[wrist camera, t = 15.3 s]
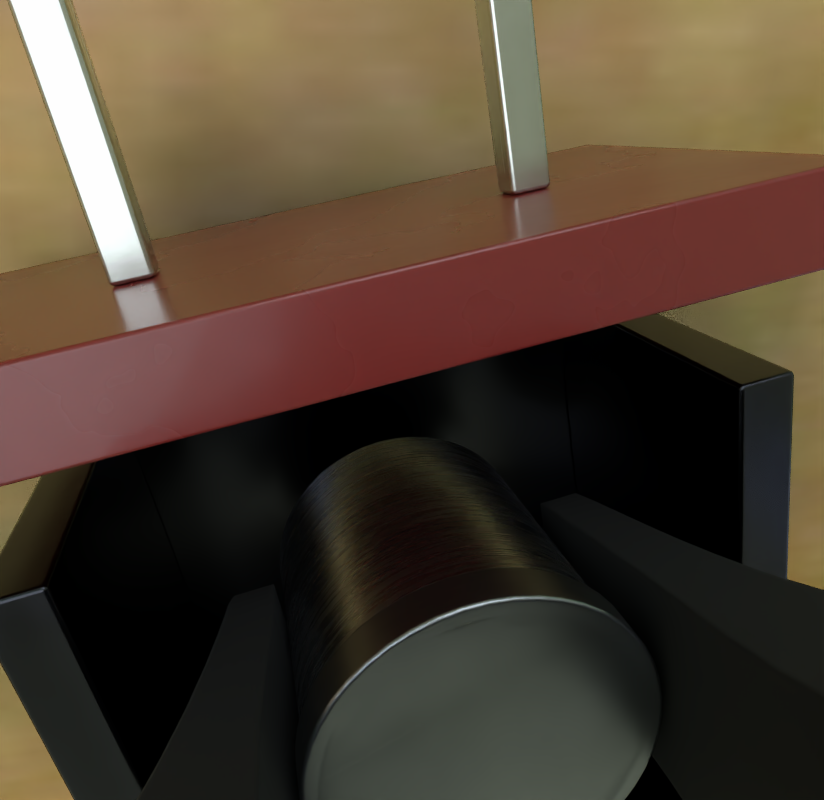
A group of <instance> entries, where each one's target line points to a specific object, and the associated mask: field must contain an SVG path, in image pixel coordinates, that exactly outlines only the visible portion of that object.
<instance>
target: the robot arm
mask: <svg viewBox="0 0 824 800" xmlns="http://www.w3.org/2000/svg"><path fill="white" fill-rule="evenodd" d="M540 506H541V514H542V521H543V529H544V532H545V533H546V534H547V535H548V537H549V538H550V539H551V541H552V542H553V543H554V544H555V546H556V547H557V548H558V549H559V551H560V552H561V553H562V554H563V556H564V557H565V558H566V559H567V561H568V562H569V563H570V564H571V566H572V567H573V568H574V570H575V571H576V572H577V573H578V575H579V576H580V577H581V578H582V580H583V581H584V582H585V583H586V585H587V586H588V587H590V588H591V589H593V590H595V591H596V592H598V593H600V594H601V595H602V596H603V597H604V598H605V599H606V600H608V601H609V602H610V603H611V604H612V605H613V606H614V607H615V608H616V609H617V611H618V612H619V613H620V614H621V616H622V617H623V618H624V619H625V621H626V622H627V623H628V624H629V625H630V627H631V628H632V629H633V630H634V632H635V633H636V634H637V635H638V637H639V638H640V639H641V640H642V642H643V643H644V644H645V645H646V647H647V649H648V651H649V653H650V654H651V656H652V658H653V660H654V662H655V666H656V669H657V672H658V675H659V678H660V684H661V692H662V717H661V723H660V729H659V734H658V737H657V740H656V743H655V747H654V750H653V752H652V757H653V758H654V759H655V761H656V762H657V763H658V765H659V766H660V768H661V769H662V770H663V772H664V773H665V774H666V776H667V777H668V779H669V780H670V782H671V783H672V785H673V786H674V788H675V789H676V791H677V792H678V794H679V795H680V797H681V798H682V800H824V590H822V589H818V588H815V587H811V586H808V585H805V584H801V583H798V582H795V581H791V580H788V579H784V578H781V577H778V576H775V575H772V574H769V573H766V572H763V571H760V570H757V569H754V568H752V567H749V566H746V565H744V564H741V563H738V562H735V561H733V560H730V559H727V558H725V557H722V556H719V555H717V554H714V553H712V552H709V551H707V550H704V549H702V548H699V547H697V546H694V545H692V544H689V543H687V542H685V541H682V540H680V539H678V538H675V537H673V536H671V535H668V534H666V533H664V532H661V531H659V530H657V529H655V528H653V527H650V526H648V525H646V524H644V523H641V522H639V521H637V520H635V519H633V518H631V517H628V516H626V515H624V514H622V513H620V512H618V511H615V510H613V509H611V508H609V507H607V506H605V505H602V504H600V503H598V502H596V501H594V500H591V499H589V498H587V497H584V496H582V495H579V494H577V493H574V494H571V495H567V496H564V497H561V498H557V499H554V500H551V501H547V502H544V503H541V504H540ZM298 722H299V715H298V707H297V699H296V691H295V683H294V675H293V667H292V659H291V651H290V643H289V635H288V627H287V623H286V620H285V617H284V614H283V611H282V608H281V605H280V602H279V598H278V595H277V592H276V589H275V586H274V584H272V585H269V586H265V587H262V588H259V589H255V590H252V591H249V592H245V593H242V594H239V595H235V596H233V598H232V599H231V601H230V603H229V604H228V607H227V610H226V613H225V616H224V618H223V621H222V624H221V627H220V629H219V632H218V635H217V637H216V640H215V642H214V645H213V647H212V650H211V652H210V655H209V657H208V660H207V662H206V664H205V667H204V669H203V671H202V674H201V676H200V678H199V680H198V682H197V685H196V687H195V689H194V691H193V694H192V696H191V698H190V700H189V703H188V705H187V707H186V709H185V711H184V713H183V715H182V717H181V719H180V721H179V723H178V725H177V727H176V729H175V731H174V733H173V734H172V736H171V738H170V740H169V742H168V744H167V746H166V748H165V750H164V752H163V754H162V756H161V758H160V760H159V762H158V763H157V765H156V767H155V769H154V771H153V772H152V774H151V776H150V778H149V779H148V781H147V783H146V785H145V786H144V788H143V790H142V791H141V793H140V795H139V796H138V798H137V800H300V798H299V789H298V780H297V771H296V758H295V742H296V732H297V726H298Z"/></svg>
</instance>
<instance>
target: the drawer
mask: <svg viewBox="0 0 824 800" xmlns="http://www.w3.org/2000/svg"><path fill="white" fill-rule="evenodd" d="M7 1H8V4H9V7H10V10H11V13H12V15H13V18H14V21H15V24H16V26H17V29H18V32H19V35H20V38H21V40H22V43H23V46H24V49H25V51H26V54H27V57H28V60H29V63H30V65H31V68H32V71H33V74H34V77H35V79H36V82H37V85H38V88H39V90H40V93H41V96H42V99H43V102H44V104H45V107H46V110H47V113H48V115H49V118H50V121H51V124H52V127H53V129H54V132H55V135H56V138H57V141H58V143H59V146H60V149H61V152H62V154H63V157H64V160H65V163H66V166H67V168H68V171H69V174H70V177H71V180H72V182H73V185H74V188H75V191H76V193H77V196H78V199H79V202H80V205H81V207H82V210H83V213H84V216H85V218H86V221H87V224H88V227H89V230H90V232H91V235H92V238H93V241H94V244H95V246H96V249H97V253H92V254H88V255H83V256H79V257H74V258H70V259H65V260H61V261H56V262H52V263H47V264H42V265H38V266H33V267H29V268H24V269H20V270H15V271H11V272H6V273H1V274H0V487H1V486H4V485H8V484H12V483H16V482H20V481H23V480H27V479H31V478H35V477H39V476H41V478H40V480H39V482H38V484H37V485H36V487H35V489H34V491H33V493H32V495H31V497H30V499H29V501H28V502H27V504H26V506H25V508H24V510H23V512H22V514H21V516H20V517H19V519H18V521H17V523H16V525H15V527H14V529H13V531H12V532H11V534H10V536H9V538H8V540H7V542H6V544H5V546H4V547H3V549H2V551H1V553H0V663H1V665H2V667H3V669H4V671H5V672H6V674H7V676H8V678H9V680H10V682H11V684H12V685H13V687H14V689H15V691H16V693H17V695H18V697H19V698H20V700H21V702H22V704H23V706H24V708H25V710H26V711H27V713H28V715H29V717H30V719H31V721H32V723H33V724H34V726H35V728H36V730H37V732H38V734H39V736H40V737H41V739H42V741H43V743H44V745H45V747H46V749H47V750H48V752H49V754H50V756H51V758H52V760H53V762H54V763H55V765H56V767H57V769H58V771H59V773H60V775H61V777H62V778H63V780H64V782H65V784H66V786H67V788H68V790H69V791H70V793H71V795H72V797H73V799H74V800H137V798H138V796H139V795H140V793H141V791H142V790H143V788H144V786H145V785H146V783H147V781H148V779H149V778H150V776H151V774H152V772H153V771H154V769H155V767H156V765H157V763H158V762H159V760H160V758H161V756H162V754H163V752H164V750H165V748H166V746H167V744H168V742H169V740H170V738H171V736H172V734H173V733H174V731H175V729H176V727H177V725H178V723H179V721H180V719H181V717H182V715H183V713H184V711H185V709H186V707H187V705H188V703H189V700H190V698H191V696H192V694H193V691H194V689H195V687H196V685H197V682H198V680H199V678H200V676H201V674H202V671H203V669H204V667H205V664H206V662H207V660H208V657H209V655H210V652H211V650H212V647H213V645H214V642H215V640H216V637H217V635H218V632H219V629H220V627H221V624H222V621H223V618H224V616H225V613H226V610H227V607H228V604H229V603H230V601H231V599H232V598H233V596H235V595H239V594H242V593H245V592H249V591H252V590H255V589H259V588H262V587H265V586H269V585H272V584H274V586H275V589H276V592H277V595H278V598H279V602H280V605H281V608H282V611H283V614H284V617H285V620H286V623H287V619H286V611H285V603H284V595H283V587H282V579H281V571H280V547H281V540H282V536H283V532H284V528H285V525H286V523H287V520H288V518H289V515H290V513H291V511H292V510H293V508H294V506H295V504H296V502H297V501H298V499H299V498H300V496H301V495H302V494H303V492H304V491H305V490H306V488H307V487H308V486H309V485H310V484H311V483H312V482H313V481H314V480H315V479H316V478H317V477H318V476H319V475H320V474H321V473H322V472H323V471H324V470H326V469H327V468H328V467H329V466H330V465H332V464H333V463H334V462H336V461H338V460H339V459H341V458H342V457H344V456H346V455H347V454H349V453H351V452H353V451H355V450H358V449H360V448H362V447H364V446H367V445H370V444H373V443H376V442H379V441H384V440H389V439H393V438H403V437H429V438H435V439H441V440H445V441H449V442H452V443H455V444H458V445H461V446H463V447H465V448H467V449H469V450H471V451H473V452H474V453H476V454H477V455H479V456H480V457H482V458H483V459H484V460H486V461H487V462H488V463H489V464H490V465H491V466H492V467H493V468H494V469H495V470H496V471H497V473H498V474H499V475H500V476H501V477H502V479H503V480H504V481H505V482H506V484H507V485H508V486H509V487H510V489H511V490H512V491H513V493H514V494H515V495H516V496H517V498H518V499H519V500H520V501H521V503H522V504H523V505H524V506H525V508H526V509H527V510H528V511H529V513H530V514H531V515H532V517H533V518H534V519H535V520H536V522H537V523H538V524H539V525H540V527H541V528H542V529H543V521H542V514H541V506H540V504H541V503H544V502H547V501H551V500H554V499H557V498H561V497H564V496H567V495H571V494H574V493H577V494H579V495H582V496H584V497H587V498H589V499H591V500H594V501H596V502H598V503H600V504H602V505H605V506H607V507H609V508H611V509H613V510H615V511H618V512H620V513H622V514H624V515H626V516H628V517H631V518H633V519H635V520H637V521H639V522H641V523H644V524H646V525H648V526H650V527H653V528H655V529H657V530H659V531H661V532H664V533H666V534H668V535H671V536H673V537H675V538H678V539H680V540H682V541H685V542H687V543H689V544H692V545H694V546H697V547H699V548H702V549H704V550H707V551H709V552H712V553H714V554H717V555H719V556H722V557H725V558H727V559H730V560H733V561H735V562H738V563H741V564H744V565H746V566H749V567H752V568H754V569H757V570H760V571H763V572H766V573H769V574H772V575H775V576H778V577H781V578H784V579H787V561H788V532H789V502H790V473H791V444H792V415H793V385H794V375H793V372H792V371H790V370H788V369H785V368H783V367H781V366H778V365H776V364H773V363H771V362H769V361H766V360H764V359H762V358H759V357H757V356H755V355H752V354H750V353H748V352H745V351H743V350H741V349H738V348H736V347H734V346H731V345H729V344H727V343H724V342H722V341H720V340H717V339H715V338H713V337H710V336H708V335H706V334H703V333H701V332H699V331H696V330H694V329H692V328H689V327H687V326H685V325H682V324H680V323H678V322H675V321H673V320H671V319H668V318H666V317H664V316H661V315H659V314H657V313H661V312H664V311H668V310H672V309H676V308H680V307H683V306H687V305H691V304H695V303H699V302H702V301H706V300H710V299H714V298H718V297H721V296H725V295H729V294H733V293H736V292H740V291H744V290H748V289H752V288H755V287H759V286H763V285H767V284H771V283H774V282H778V281H782V280H786V279H790V278H793V277H797V276H801V275H805V274H809V273H812V272H816V271H820V270H824V155H818V154H794V153H771V152H748V151H724V150H701V149H677V148H654V147H630V146H607V145H584V146H579V147H575V148H570V149H566V150H561V151H557V152H552V153H548V154H547V149H546V139H545V129H544V119H543V109H542V99H541V89H540V79H539V70H538V60H537V50H536V40H535V30H534V20H533V10H532V0H475V8H476V16H477V24H478V31H479V39H480V47H481V55H482V62H483V70H484V78H485V85H486V93H487V101H488V109H489V116H490V124H491V132H492V140H493V147H494V155H495V163H496V165H493V166H488V167H484V168H479V169H475V170H470V171H466V172H461V173H457V174H452V175H447V176H443V177H438V178H434V179H429V180H425V181H420V182H416V183H411V184H406V185H402V186H397V187H393V188H388V189H384V190H379V191H375V192H370V193H366V194H361V195H356V196H352V197H347V198H343V199H338V200H334V201H329V202H325V203H320V204H315V205H311V206H306V207H302V208H297V209H293V210H288V211H284V212H279V213H275V214H270V215H265V216H261V217H256V218H252V219H247V220H243V221H238V222H234V223H229V224H224V225H220V226H215V227H211V228H206V229H202V230H197V231H193V232H188V233H184V234H179V235H174V236H170V237H165V238H161V239H156V240H152V241H151V240H150V237H149V234H148V231H147V228H146V225H145V222H144V219H143V216H142V213H141V209H140V206H139V203H138V200H137V197H136V194H135V191H134V188H133V185H132V182H131V179H130V176H129V173H128V170H127V167H126V164H125V161H124V158H123V155H122V151H121V148H120V145H119V142H118V139H117V136H116V133H115V130H114V127H113V124H112V121H111V118H110V115H109V112H108V109H107V106H106V103H105V100H104V96H103V93H102V90H101V87H100V84H99V81H98V78H97V75H96V72H95V69H94V66H93V63H92V60H91V57H90V54H89V51H88V48H87V45H86V41H85V38H84V35H83V32H82V29H81V26H80V23H79V20H78V17H77V14H76V11H75V8H74V5H73V2H72V0H7ZM543 530H544V529H543ZM625 800H682V798H681V797H680V795H679V794H678V792H677V791H676V789H675V788H674V786H673V785H672V783H671V782H670V780H669V779H668V777H667V776H666V774H665V773H664V772H663V770H662V769H661V768H660V766H659V765H658V763H657V762H656V761H655V759H654V758H653V757H652V755H651V757H650V759H649V761H648V763H647V766H646V768H645V770H644V771H643V773H642V775H641V776H640V778H639V780H638V781H637V783H636V785H635V786H634V788H633V789H632V790H631V792H630V793H629V794H628V796H627V797H626V798H625Z"/></svg>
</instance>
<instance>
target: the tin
mask: <svg viewBox="0 0 824 800" xmlns="http://www.w3.org/2000/svg"><path fill="white" fill-rule="evenodd" d="M280 571H281V579H282V587H283V595H284V603H285V611H286V619H287V627H288V635H289V643H290V651H291V659H292V667H293V675H294V683H295V691H296V699H297V707H298V715H299V722H298V726H297V732H296V742H295V758H296V771H297V780H298V789H299V798H300V800H625V798H626V797H627V796H628V794H629V793H630V792H631V790H632V789H633V788H634V786H635V785H636V783H637V781H638V780H639V778H640V776H641V775H642V773H643V771H644V770H645V768H646V766H647V763H648V761H649V759H650V757H651V755H652V752H653V750H654V747H655V743H656V740H657V737H658V734H659V729H660V723H661V717H662V692H661V684H660V678H659V675H658V672H657V669H656V666H655V662H654V660H653V658H652V656H651V654H650V653H649V651H648V649H647V647H646V645H645V644H644V643H643V642H642V640H641V639H640V638H639V637H638V635H637V634H636V633H635V632H634V630H633V629H632V628H631V627H630V625H629V624H628V623H627V622H626V621H625V619H624V618H623V617H622V616H621V614H620V613H619V612H618V611H617V609H616V608H615V607H614V606H613V605H612V604H611V603H610V602H609V601H608V600H606V599H605V598H604V597H603V596H602V595H601V594H600V593H598V592H596V591H595V590H593V589H591V588H590V587H588V586H587V585H586V583H585V582H584V581H583V580H582V578H581V577H580V576H579V575H578V573H577V572H576V571H575V570H574V568H573V567H572V566H571V564H570V563H569V562H568V561H567V559H566V558H565V557H564V556H563V554H562V553H561V552H560V551H559V549H558V548H557V547H556V546H555V544H554V543H553V542H552V541H551V539H550V538H549V537H548V535H547V534H546V533H545V532H544V530H543V529H542V528H541V527H540V525H539V524H538V523H537V522H536V520H535V519H534V518H533V517H532V515H531V514H530V513H529V511H528V510H527V509H526V508H525V506H524V505H523V504H522V503H521V501H520V500H519V499H518V498H517V496H516V495H515V494H514V493H513V491H512V490H511V489H510V487H509V486H508V485H507V484H506V482H505V481H504V480H503V479H502V477H501V476H500V475H499V474H498V473H497V471H496V470H495V469H494V468H493V467H492V466H491V465H490V464H489V463H488V462H487V461H486V460H484V459H483V458H482V457H480V456H479V455H477V454H476V453H474V452H473V451H471V450H469V449H467V448H465V447H463V446H461V445H458V444H455V443H452V442H449V441H445V440H441V439H435V438H429V437H403V438H393V439H389V440H384V441H379V442H376V443H373V444H370V445H367V446H364V447H362V448H360V449H358V450H355V451H353V452H351V453H349V454H347V455H346V456H344V457H342V458H341V459H339V460H338V461H336V462H334V463H333V464H332V465H330V466H329V467H328V468H327V469H326V470H324V471H323V472H322V473H321V474H320V475H319V476H318V477H317V478H316V479H315V480H314V481H313V482H312V483H311V484H310V485H309V486H308V487H307V488H306V490H305V491H304V492H303V494H302V495H301V496H300V498H299V499H298V501H297V502H296V504H295V506H294V508H293V510H292V511H291V513H290V515H289V518H288V520H287V523H286V525H285V528H284V532H283V536H282V540H281V547H280Z"/></svg>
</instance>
